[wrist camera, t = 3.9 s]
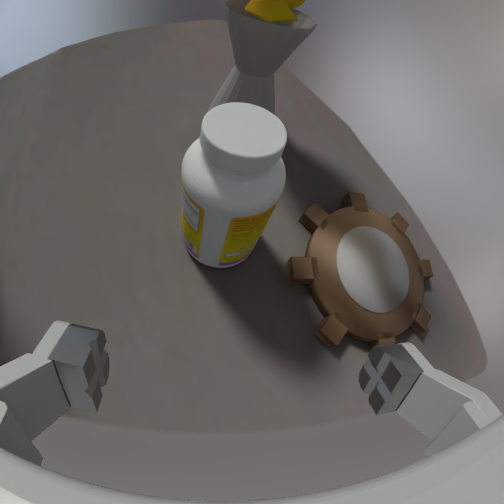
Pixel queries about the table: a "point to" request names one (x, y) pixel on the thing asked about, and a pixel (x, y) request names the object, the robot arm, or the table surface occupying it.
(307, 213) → the gear platform
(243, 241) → the supplement bottle
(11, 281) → the table surface
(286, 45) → the lava lamp
